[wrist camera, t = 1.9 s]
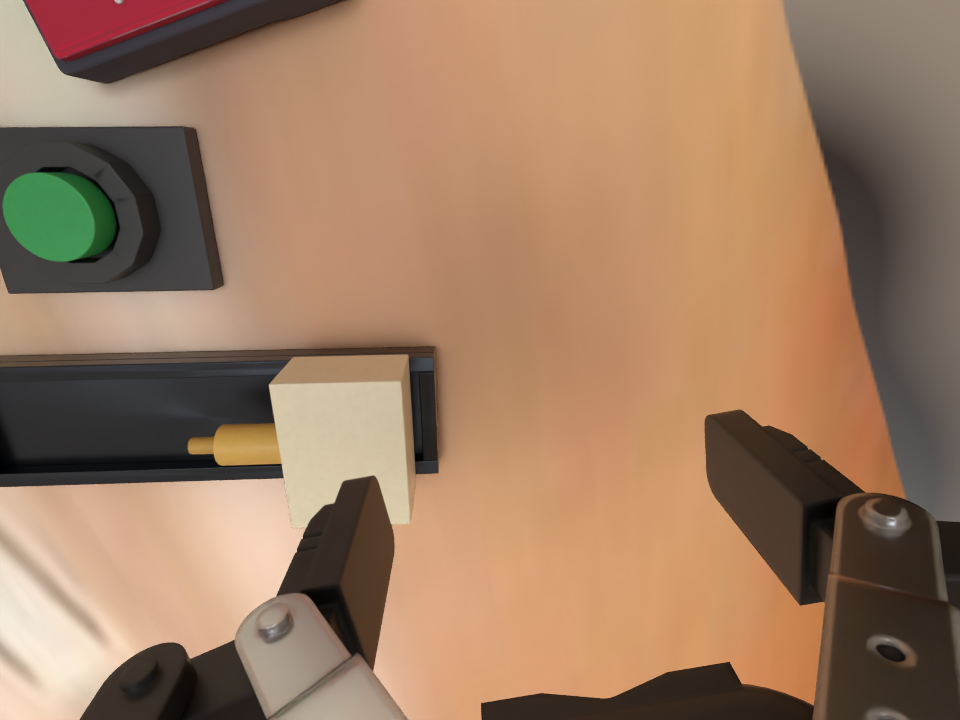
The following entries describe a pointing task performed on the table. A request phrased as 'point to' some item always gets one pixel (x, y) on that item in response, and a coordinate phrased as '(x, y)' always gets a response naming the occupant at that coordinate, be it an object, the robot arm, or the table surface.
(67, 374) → the rail
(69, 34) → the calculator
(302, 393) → the nozzle carriage
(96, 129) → the button box
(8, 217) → the button
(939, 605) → the robot arm
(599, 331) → the table surface
